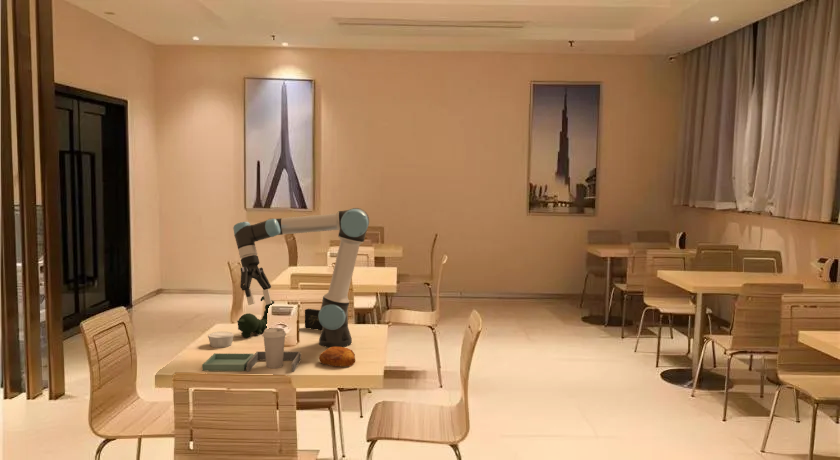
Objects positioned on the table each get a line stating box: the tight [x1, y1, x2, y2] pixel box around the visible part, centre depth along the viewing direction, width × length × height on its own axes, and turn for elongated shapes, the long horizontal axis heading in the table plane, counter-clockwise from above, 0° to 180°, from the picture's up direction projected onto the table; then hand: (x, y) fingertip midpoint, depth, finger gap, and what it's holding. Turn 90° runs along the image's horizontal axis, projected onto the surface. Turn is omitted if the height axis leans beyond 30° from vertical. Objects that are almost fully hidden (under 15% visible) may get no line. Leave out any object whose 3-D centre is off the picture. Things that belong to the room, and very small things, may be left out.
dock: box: [246, 351, 302, 373], centre depth 280 cm, size 19×18×4 cm
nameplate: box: [304, 308, 323, 331], centre depth 343 cm, size 21×2×10 cm, turn 61°
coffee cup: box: [262, 327, 287, 369], centre depth 279 cm, size 10×10×15 cm
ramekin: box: [207, 331, 234, 349], centre depth 312 cm, size 11×11×5 cm
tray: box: [201, 352, 255, 372], centre depth 280 cm, size 17×17×3 cm
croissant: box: [318, 346, 356, 368], centre depth 285 cm, size 14×16×8 cm
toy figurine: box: [236, 295, 275, 339], centre depth 332 cm, size 10×19×26 cm
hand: (260, 304), depth 292 cm, fingers open, 13 cm apart
